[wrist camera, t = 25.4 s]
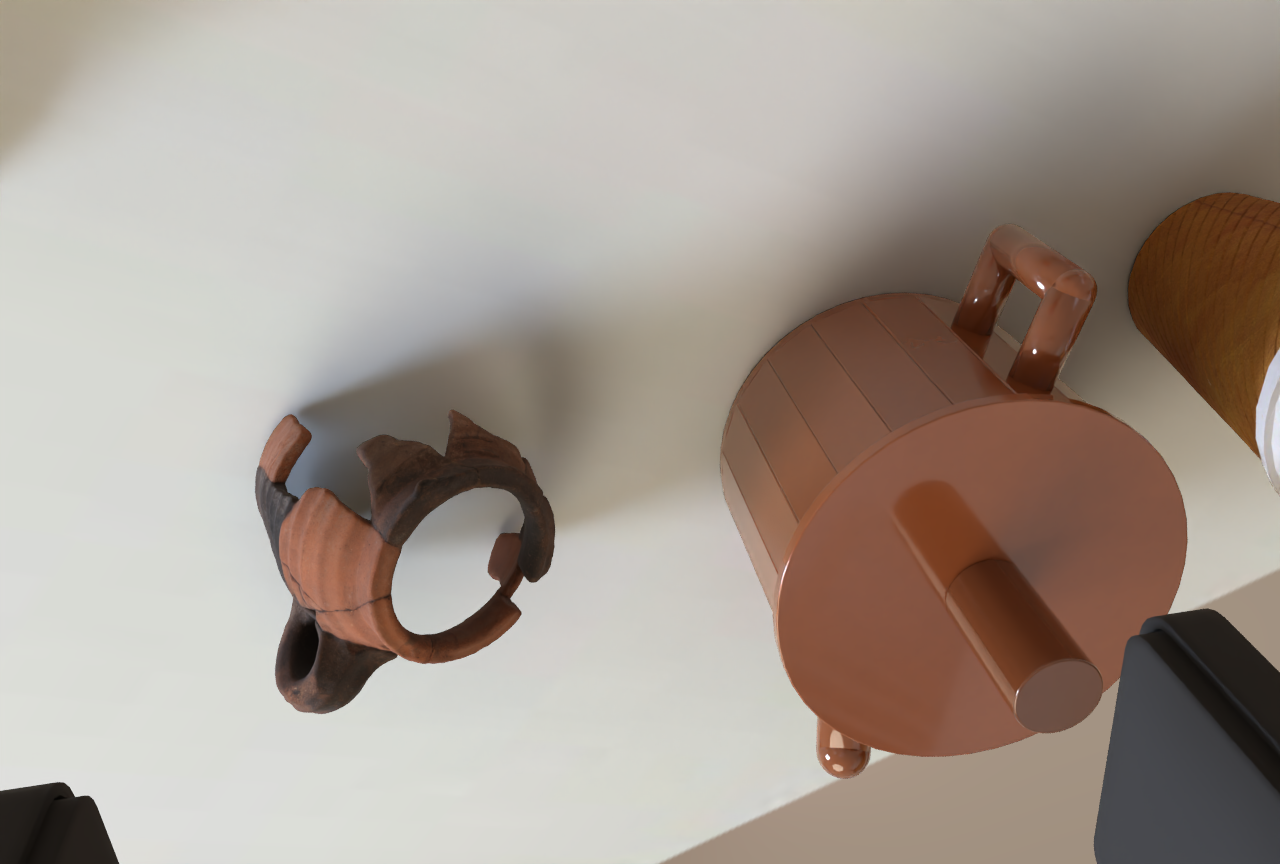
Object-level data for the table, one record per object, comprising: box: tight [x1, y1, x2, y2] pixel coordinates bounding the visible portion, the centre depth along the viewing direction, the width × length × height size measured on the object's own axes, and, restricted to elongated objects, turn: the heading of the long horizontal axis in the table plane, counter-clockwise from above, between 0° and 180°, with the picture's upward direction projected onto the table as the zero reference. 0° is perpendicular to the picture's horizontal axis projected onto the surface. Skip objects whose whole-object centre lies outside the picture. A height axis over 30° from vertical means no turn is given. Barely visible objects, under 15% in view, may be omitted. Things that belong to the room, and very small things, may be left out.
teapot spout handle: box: [816, 224, 1097, 779], centre depth 41 cm, size 21×2×6 cm, turn 164°
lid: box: [773, 393, 1187, 757], centre depth 35 cm, size 13×13×6 cm
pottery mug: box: [255, 410, 555, 714], centre depth 41 cm, size 12×10×8 cm
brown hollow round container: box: [720, 293, 1088, 611], centre depth 41 cm, size 13×13×10 cm
